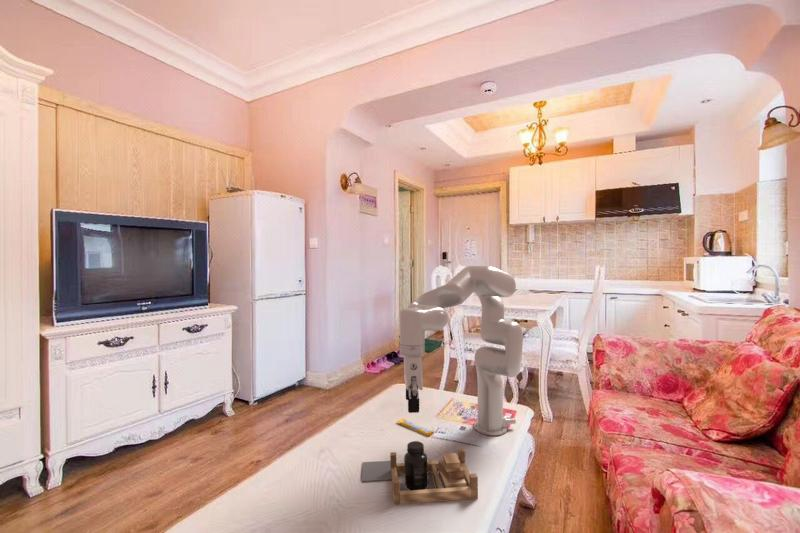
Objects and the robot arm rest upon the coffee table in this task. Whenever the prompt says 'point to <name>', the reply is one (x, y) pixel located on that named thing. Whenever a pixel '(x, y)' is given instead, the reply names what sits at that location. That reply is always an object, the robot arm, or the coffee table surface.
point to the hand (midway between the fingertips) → (412, 405)
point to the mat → (376, 471)
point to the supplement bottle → (416, 466)
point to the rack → (439, 492)
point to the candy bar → (415, 427)
